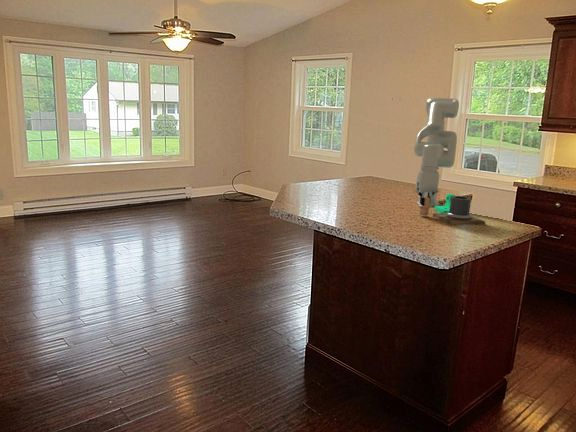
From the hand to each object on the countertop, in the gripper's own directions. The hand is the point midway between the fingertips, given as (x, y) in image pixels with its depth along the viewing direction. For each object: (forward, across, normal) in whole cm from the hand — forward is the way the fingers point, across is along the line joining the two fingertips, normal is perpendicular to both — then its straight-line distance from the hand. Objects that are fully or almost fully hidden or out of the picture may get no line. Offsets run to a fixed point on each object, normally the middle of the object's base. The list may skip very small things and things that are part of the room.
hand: (424, 204), depth 248 cm
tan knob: (+5, 0, 0) cm, 5 cm away
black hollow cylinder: (+5, -15, +9) cm, 18 cm away
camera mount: (+7, -17, -8) cm, 21 cm away
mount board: (+6, -15, +9) cm, 18 cm away
